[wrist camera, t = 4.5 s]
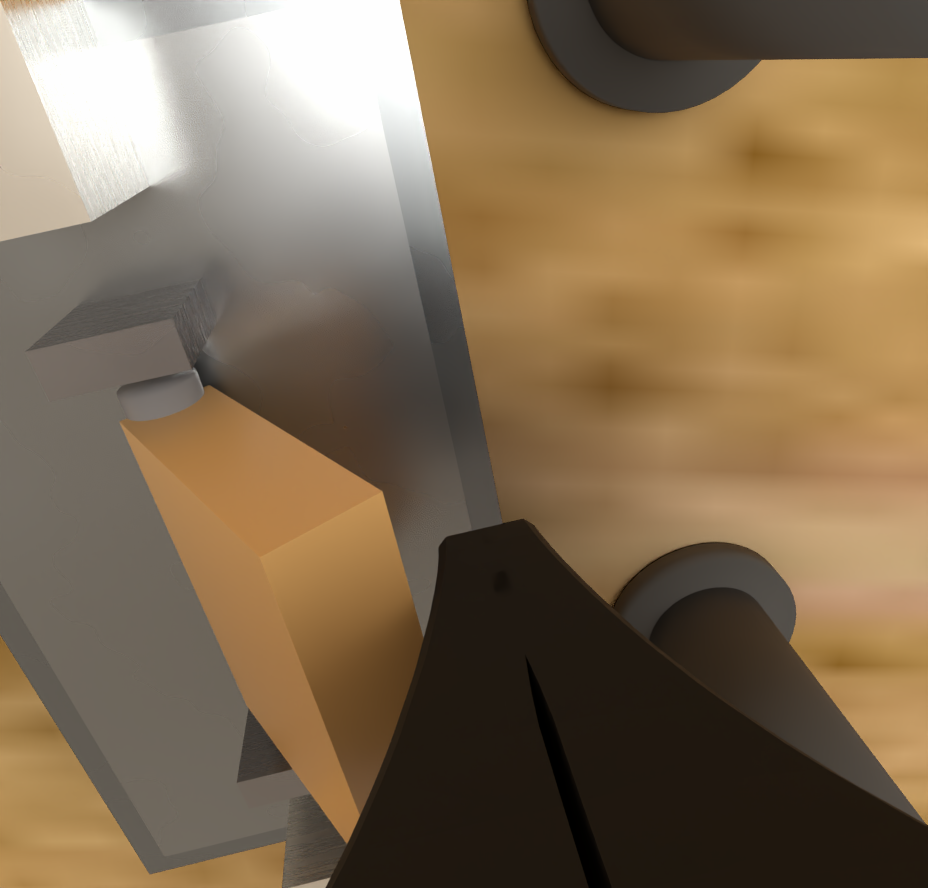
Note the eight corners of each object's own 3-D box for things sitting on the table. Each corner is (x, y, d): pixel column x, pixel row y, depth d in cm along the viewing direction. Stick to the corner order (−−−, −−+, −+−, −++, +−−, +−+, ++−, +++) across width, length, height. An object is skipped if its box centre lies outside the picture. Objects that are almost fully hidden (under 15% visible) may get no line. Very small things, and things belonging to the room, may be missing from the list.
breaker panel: (526, 683, 17) (586, 893, 13) (176, 767, 17) (115, 1012, 12) (379, -38, 11) (398, -111, 6) (-195, 80, 10) (-587, 93, 6)
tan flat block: (305, 661, 13) (485, 858, 9) (240, 702, 12) (404, 929, 9) (189, 356, 10) (373, 461, 7) (99, 390, 10) (248, 527, 6)
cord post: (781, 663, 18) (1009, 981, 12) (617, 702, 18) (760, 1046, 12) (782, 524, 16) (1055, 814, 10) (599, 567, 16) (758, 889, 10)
